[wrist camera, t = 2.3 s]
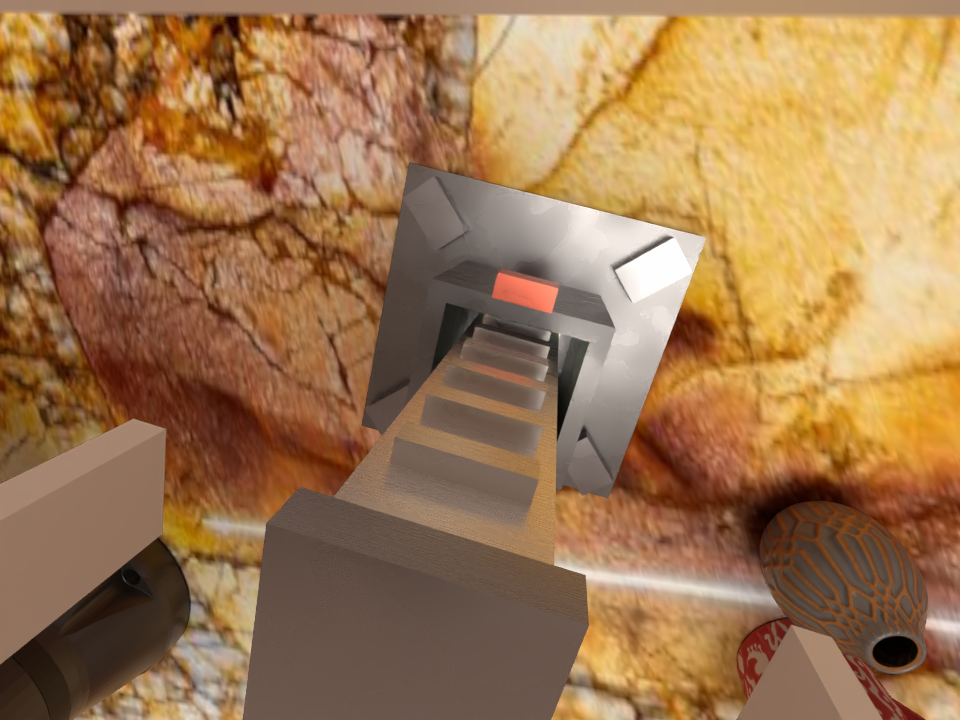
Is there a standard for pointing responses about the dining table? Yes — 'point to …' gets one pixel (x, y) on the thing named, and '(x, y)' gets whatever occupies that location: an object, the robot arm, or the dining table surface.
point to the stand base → (533, 304)
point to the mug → (770, 635)
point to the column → (430, 558)
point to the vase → (847, 583)
